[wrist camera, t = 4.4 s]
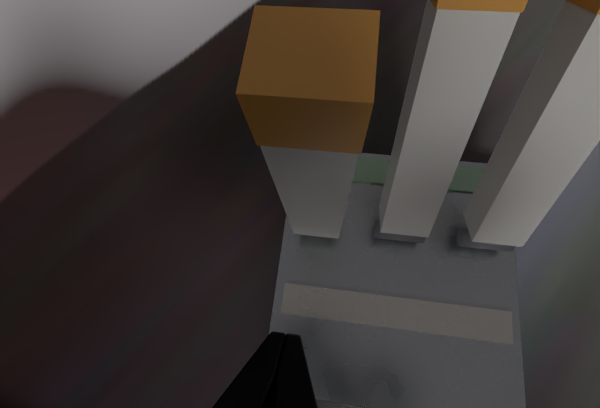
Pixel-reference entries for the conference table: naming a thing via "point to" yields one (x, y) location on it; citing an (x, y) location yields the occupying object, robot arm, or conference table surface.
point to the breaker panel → (403, 307)
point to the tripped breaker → (310, 105)
